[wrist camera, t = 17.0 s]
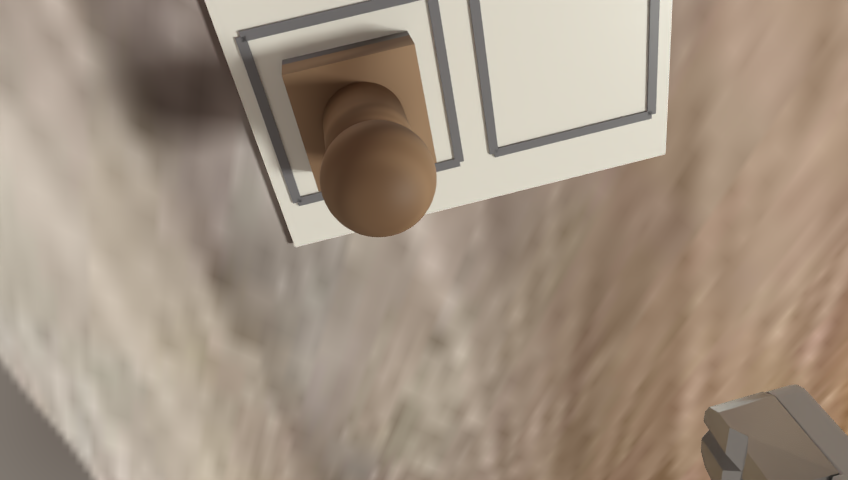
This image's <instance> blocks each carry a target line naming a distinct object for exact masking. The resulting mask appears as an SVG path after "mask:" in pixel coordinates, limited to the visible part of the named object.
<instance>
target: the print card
mask: <svg viewBox="0 0 848 480" xmlns="http://www.w3.org/2000/svg"><path fill="white" fill-rule="evenodd" d="M205 3H206V6H207V9H208V11H209V14H210V17H211V19H212V22H213V25H214V28H215V30H216V33H217V36H218V39H219V41H220V44H221V47H222V49H223V52H224V55H225V58H226V60H227V63H228V66H229V68H230V71H231V74H232V77H233V79H234V82H235V85H236V88H237V90H238V93H239V96H240V98H241V101H242V104H243V107H244V109H245V112H246V115H247V117H248V120H249V123H250V126H251V128H252V131H253V134H254V137H255V139H256V142H257V145H258V147H259V150H260V153H261V156H262V158H263V161H264V164H265V166H266V169H267V172H268V175H269V177H270V180H271V183H272V186H273V188H274V191H275V194H276V196H277V199H278V202H279V205H280V207H281V210H282V213H283V215H284V218H285V221H286V224H287V226H288V229H289V232H290V235H291V237H292V240H293V243H294V245H295V247H298V246H302V245H306V244H310V243H314V242H318V241H322V240H326V239H330V238H334V237H338V236H342V235H346V234H350V233H354V231H352V230H350V229H348V228H346V227H345V226H344V225H342V224H341V223H340V222H339V221H338V220H337V219H336V218H335V217H334V216H333V215H332V214H331V212H330V211H329V209H328V207H327V206H326V204H325V202H324V199H323V197H322V192H321V191H320V192H319V191H318V188H317V185H316V182H315V179H314V176H313V173H312V169H311V166H310V163H309V160H308V157H307V154H306V151H305V147H304V144H303V141H302V138H301V135H300V132H299V129H298V125H297V122H296V119H295V116H294V113H293V110H292V106H291V103H290V100H289V97H288V94H287V91H286V88H285V84H284V81H283V78H282V60H285V59H289V58H293V57H298V56H302V55H306V54H310V53H315V52H319V51H323V50H327V49H332V48H336V47H340V46H344V45H349V44H353V43H357V42H361V41H366V40H370V39H374V38H378V37H383V36H387V35H391V34H395V33H400V32H404V31H408V33H409V35H410V37H411V38H412V40H413V42H414V44H415V48H416V54H417V59H418V64H419V70H420V75H421V80H422V86H423V91H424V96H425V102H426V107H427V113H428V118H429V123H430V129H431V134H432V139H433V145H434V150H435V155H436V161H437V163H435V167H436V174H437V183H436V191H435V195H434V198H433V201H432V203H431V205H430V207H429V209H428V210H427V212H426V213H425V215H426V214H430V213H434V212H438V211H441V210H445V209H449V208H453V207H457V206H461V205H465V204H469V203H473V202H477V201H481V200H485V199H489V198H493V197H497V196H501V195H505V194H509V193H513V192H517V191H521V190H525V189H529V188H533V187H537V186H541V185H545V184H549V183H553V182H557V181H561V180H565V179H569V178H573V177H577V176H581V175H585V174H589V173H593V172H596V171H600V170H604V169H608V168H612V167H616V166H620V165H624V164H628V163H632V162H636V161H640V160H644V159H648V158H652V157H656V156H660V155H664V154H665V153H666V131H667V109H668V87H669V65H670V43H671V21H672V0H205Z"/></svg>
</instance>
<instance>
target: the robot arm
mask: <svg viewBox="0 0 848 480" xmlns="http://www.w3.org/2000/svg"><path fill="white" fill-rule="evenodd" d="M704 423H705V424H706V426H707V427H708V429H709V431H708V432H707V433H706V434H705V435H704V436H703V438H702V443H701V453H702V457H703V461H704V465H705V468H706V470H707V472H708V474H709V476H710V478H711V480H848V436H847V435H846V434H845V432H844V431H843V430H842V429H841V428H840V427H839V426H838V425H837V424H836V423H835V422H834V420H833V419H832V418H831V417H830V416H829V415H828V414H827V413H826V412H825V411H824V410H823V408H822V407H821V406H820V405H819V404H818V403H817V402H816V401H815V400H814V399H813V398H812V396H811V395H810V394H809V393H808V392H807V391H806V390H805V389H804V388H802V387H800V386H799V385H788V386H785V387H781V388H778V389H774V390H771V391H767V392H760V393H757V394H753V395H750V396H747V397H743V398H740V399H736V400H733V401H729V402H726V403H722V404H719V405H715V406H712V407H709V408H708V409H707V410H706V411H705V416H704Z"/></svg>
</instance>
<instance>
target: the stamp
mask: <svg viewBox="0 0 848 480" xmlns="http://www.w3.org/2000/svg"><path fill="white" fill-rule="evenodd" d="M282 78H283V81H284V84H285V88H286V91H287V94H288V97H289V100H290V103H291V106H292V110H293V113H294V116H295V119H296V122H297V125H298V129H299V132H300V135H301V138H302V141H303V144H304V147H305V151H306V154H307V157H308V160H309V163H310V166H311V169H312V173H313V176H314V179H315V182H316V185H317V188H318V191H319V192H320V191H321V192H322V197H323V199H324V202H325V204H326V206H327V207H328V209H329V211H330V212H331V214H332V215H333V216H334V217H335V218H336V219H337V220H338V221H339V222H340V223H341V224H342V225H344V226H345V227H346V228H348V229H350V230H352V231H354V232H356V233H358V234H361V235H365V236H370V237H387V236H392V235H396V234H399V233H401V232H403V231H406V230H407V229H409V228H411V227H412V226H413V225H415V224H416V223H417V222H418V221H419V220H420V219H421V218H422V217H423V216H424V215H425V213H426V212H427V210H428V209H429V207H430V205H431V203H432V201H433V198H434V195H435V191H436V183H437V174H436V167H435V163H437V161H436V155H435V150H434V145H433V139H432V134H431V129H430V123H429V118H428V113H427V107H426V102H425V96H424V91H423V86H422V80H421V75H420V70H419V64H418V59H417V54H416V48H415V44H414V42H413V40H412V38H411V37H410V35H409V33H408V31H404V32H400V33H395V34H391V35H387V36H383V37H378V38H374V39H370V40H366V41H361V42H357V43H353V44H349V45H344V46H340V47H336V48H332V49H327V50H323V51H319V52H315V53H310V54H306V55H302V56H298V57H293V58H289V59H285V60H282Z"/></svg>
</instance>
